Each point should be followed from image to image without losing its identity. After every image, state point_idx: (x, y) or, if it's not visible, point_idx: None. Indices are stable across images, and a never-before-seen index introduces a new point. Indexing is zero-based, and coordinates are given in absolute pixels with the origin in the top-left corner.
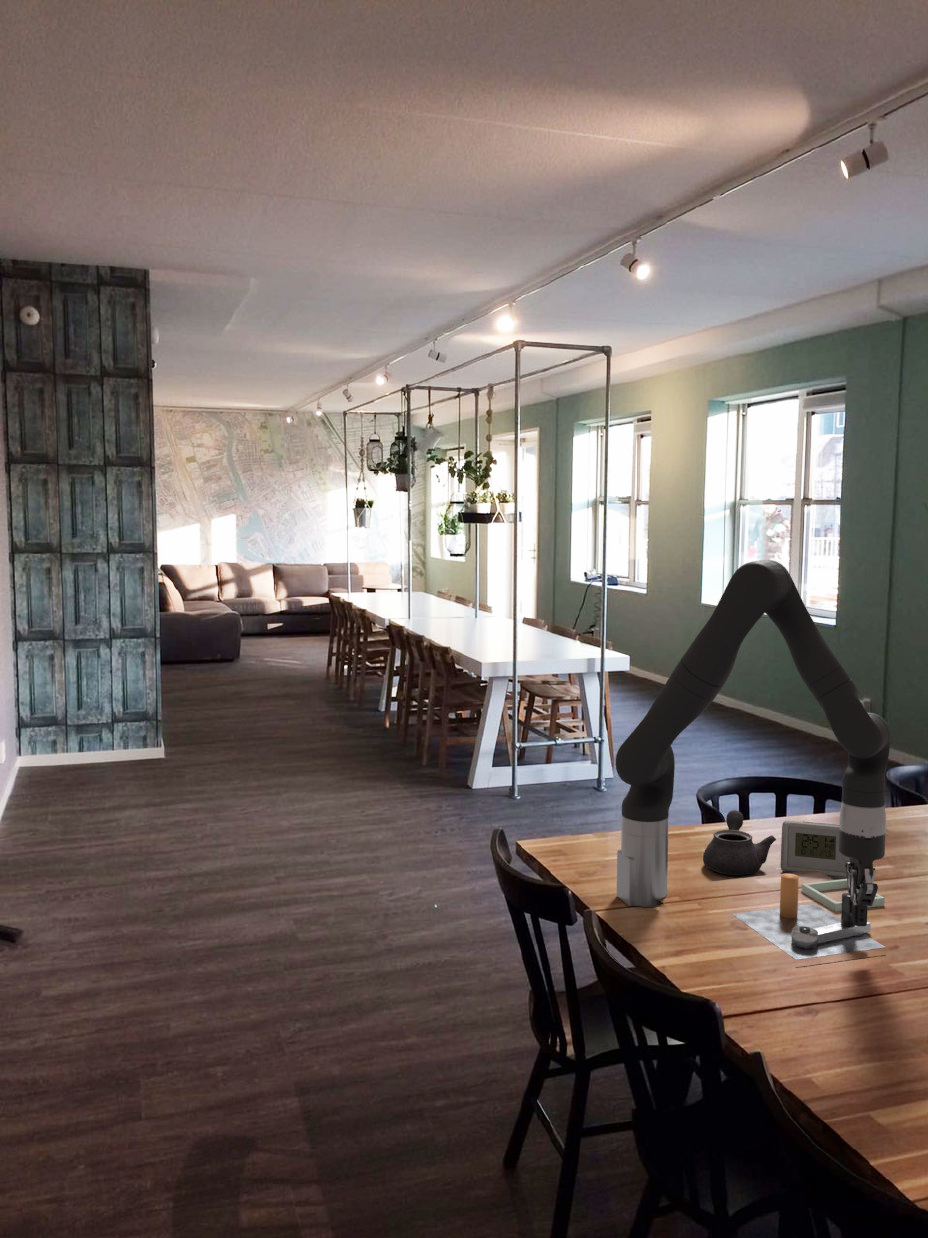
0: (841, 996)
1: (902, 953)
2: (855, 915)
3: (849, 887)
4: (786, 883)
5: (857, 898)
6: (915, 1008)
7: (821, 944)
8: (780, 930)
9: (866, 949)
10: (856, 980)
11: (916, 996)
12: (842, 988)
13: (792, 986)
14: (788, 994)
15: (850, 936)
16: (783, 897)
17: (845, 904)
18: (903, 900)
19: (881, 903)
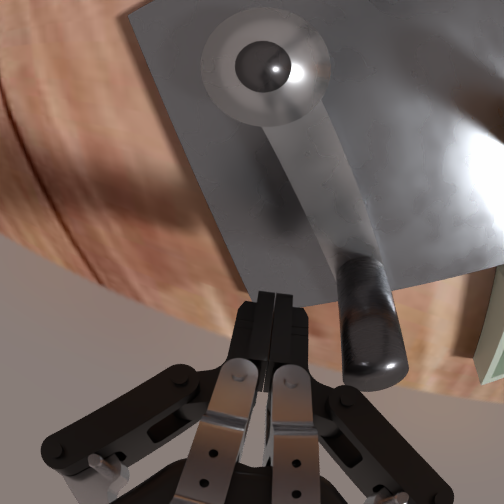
0: (23, 124)
1: None
2: (254, 323)
3: (349, 420)
4: None
5: (165, 397)
6: (32, 248)
7: None
8: (416, 25)
9: (237, 264)
10: (98, 176)
11: (71, 269)
12: (53, 132)
13: (45, 15)
14: (17, 12)
15: None
16: None
17: (355, 331)
18: (490, 387)
19: (480, 372)
